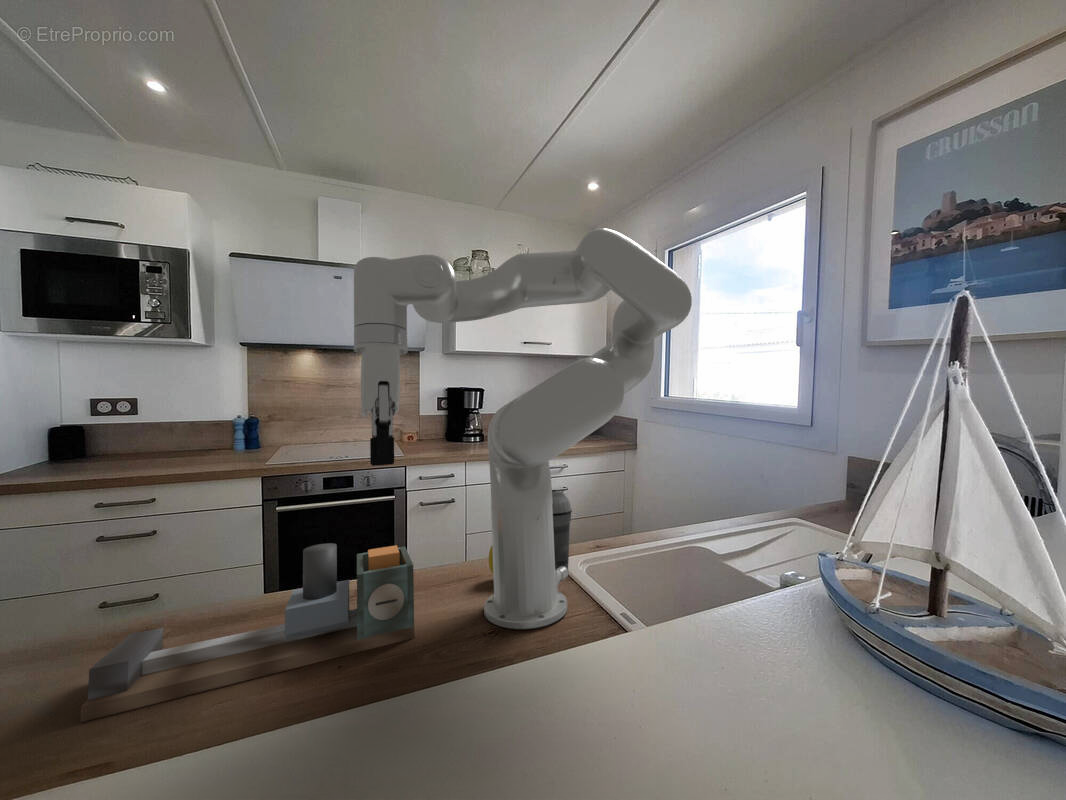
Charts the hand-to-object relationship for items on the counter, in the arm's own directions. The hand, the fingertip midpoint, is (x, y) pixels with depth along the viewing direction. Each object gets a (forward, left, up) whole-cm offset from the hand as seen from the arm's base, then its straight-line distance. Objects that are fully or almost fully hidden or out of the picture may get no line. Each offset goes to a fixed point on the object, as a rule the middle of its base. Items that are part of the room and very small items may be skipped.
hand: (382, 464), depth 56 cm
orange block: (0, 0, -16) cm, 16 cm away
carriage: (+7, -4, -21) cm, 22 cm away
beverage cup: (-30, +10, -23) cm, 39 cm away
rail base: (+11, -6, -23) cm, 26 cm away
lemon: (-22, +4, -23) cm, 32 cm away
